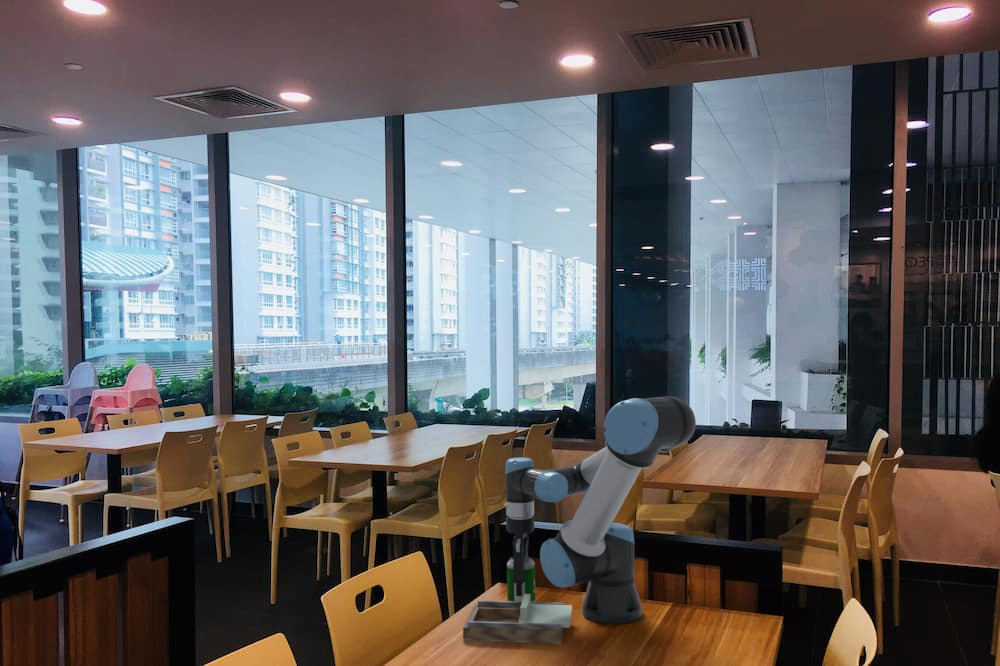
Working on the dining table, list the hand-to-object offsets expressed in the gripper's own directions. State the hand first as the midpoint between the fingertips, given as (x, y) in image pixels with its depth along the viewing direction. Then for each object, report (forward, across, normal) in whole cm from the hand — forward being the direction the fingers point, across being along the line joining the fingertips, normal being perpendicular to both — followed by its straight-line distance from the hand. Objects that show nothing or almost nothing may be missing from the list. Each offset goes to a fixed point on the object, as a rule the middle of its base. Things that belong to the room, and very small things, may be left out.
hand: (521, 601), depth 206 cm
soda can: (+1, 0, 0) cm, 1 cm away
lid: (-3, +18, +8) cm, 20 cm away
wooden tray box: (+1, +18, 0) cm, 18 cm away
